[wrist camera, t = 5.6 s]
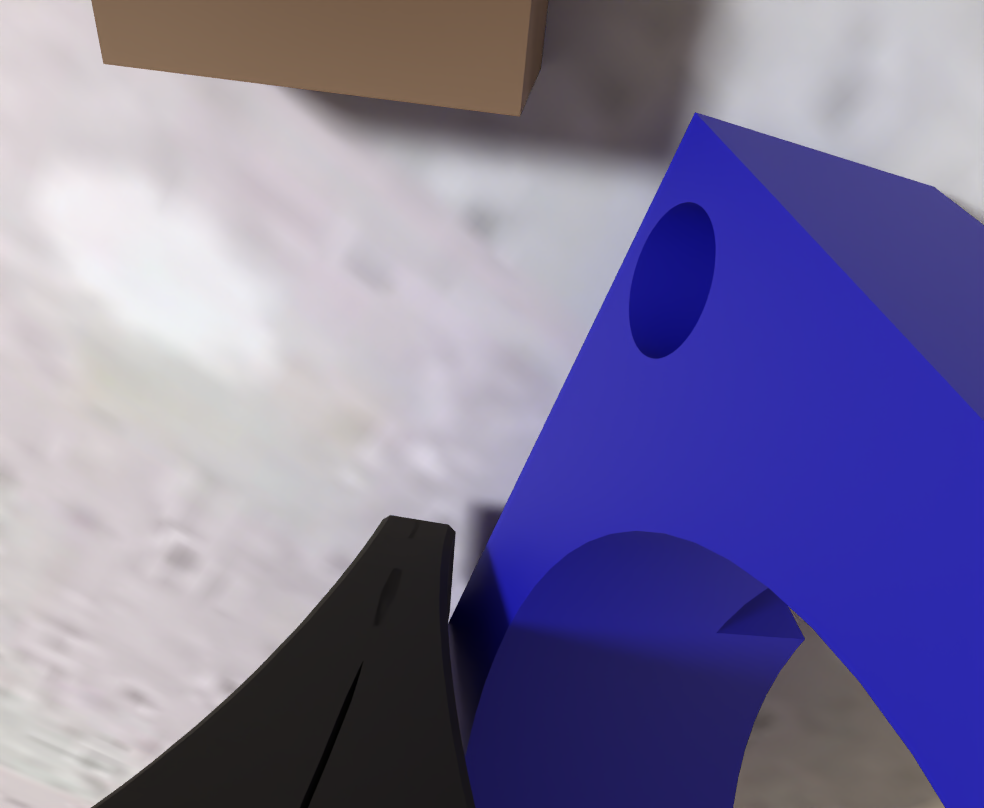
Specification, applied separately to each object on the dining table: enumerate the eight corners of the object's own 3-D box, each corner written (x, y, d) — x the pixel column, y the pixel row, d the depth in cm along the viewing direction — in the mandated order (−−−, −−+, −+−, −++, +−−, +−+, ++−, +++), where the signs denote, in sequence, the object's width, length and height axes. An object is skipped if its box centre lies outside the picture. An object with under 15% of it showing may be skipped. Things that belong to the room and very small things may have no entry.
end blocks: (457, 818, 18) (440, 912, 17) (290, 786, 19) (257, 875, 17) (572, -214, 7) (554, -232, 6) (162, -254, 8) (36, -282, 6)
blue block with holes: (608, 747, 16) (717, 1150, 11) (389, 743, 15) (415, 1203, 10) (1033, 218, 9) (1737, 712, 4) (695, 112, 8) (1229, 680, 3)
